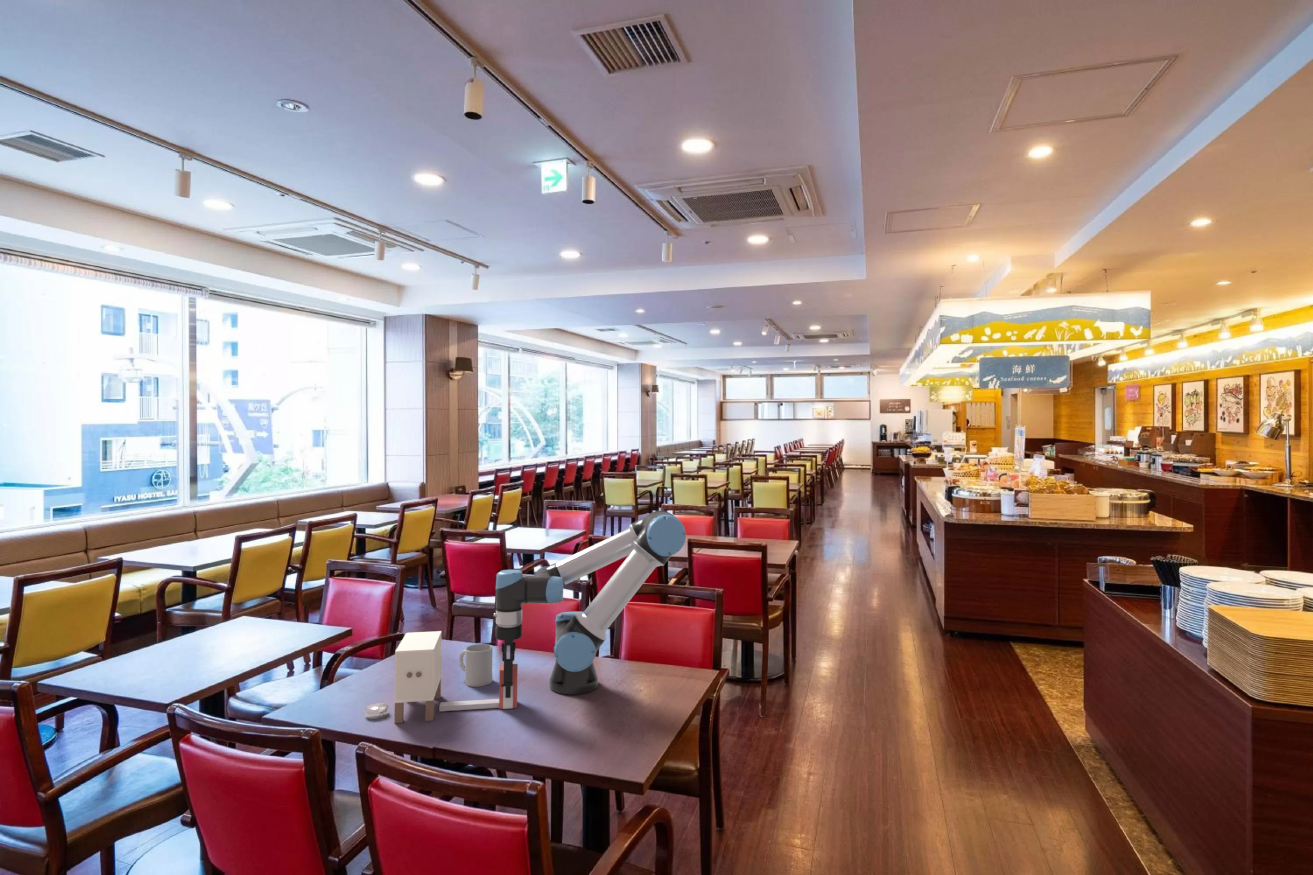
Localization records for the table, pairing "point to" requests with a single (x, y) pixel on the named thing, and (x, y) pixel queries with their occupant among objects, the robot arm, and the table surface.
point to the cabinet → (418, 672)
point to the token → (376, 711)
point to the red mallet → (485, 703)
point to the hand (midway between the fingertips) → (508, 703)
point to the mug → (477, 664)
